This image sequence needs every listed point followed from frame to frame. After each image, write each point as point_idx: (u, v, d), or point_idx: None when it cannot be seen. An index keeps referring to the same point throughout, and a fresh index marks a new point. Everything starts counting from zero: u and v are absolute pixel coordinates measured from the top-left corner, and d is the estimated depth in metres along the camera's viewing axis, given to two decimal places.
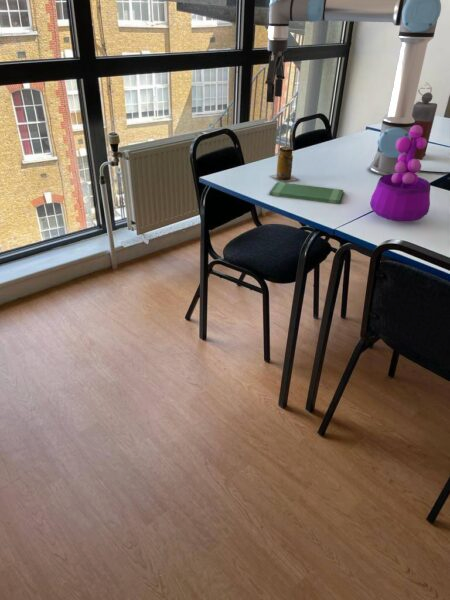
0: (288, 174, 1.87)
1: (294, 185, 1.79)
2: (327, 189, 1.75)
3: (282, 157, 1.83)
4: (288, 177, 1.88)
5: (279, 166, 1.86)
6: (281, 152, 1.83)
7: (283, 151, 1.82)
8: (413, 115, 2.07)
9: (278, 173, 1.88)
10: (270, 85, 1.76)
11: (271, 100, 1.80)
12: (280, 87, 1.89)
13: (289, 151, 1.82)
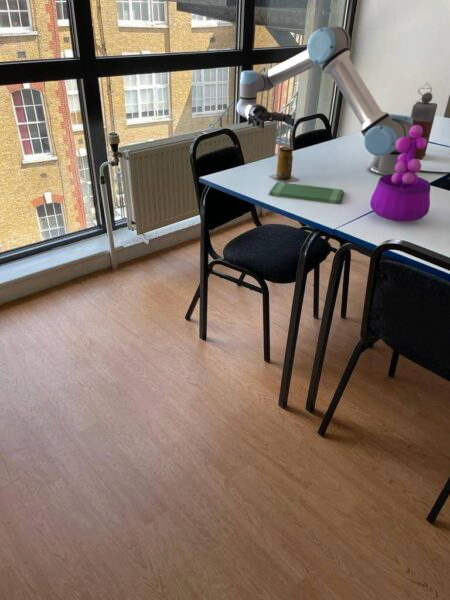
0: (288, 174, 1.87)
1: (294, 185, 1.79)
2: (327, 189, 1.75)
3: (282, 157, 1.83)
4: (288, 177, 1.88)
5: (279, 166, 1.86)
6: (281, 152, 1.83)
7: (283, 151, 1.82)
8: (413, 115, 2.07)
9: (278, 173, 1.88)
10: (253, 121, 1.88)
11: (261, 123, 1.83)
12: (288, 118, 1.90)
13: (289, 151, 1.82)
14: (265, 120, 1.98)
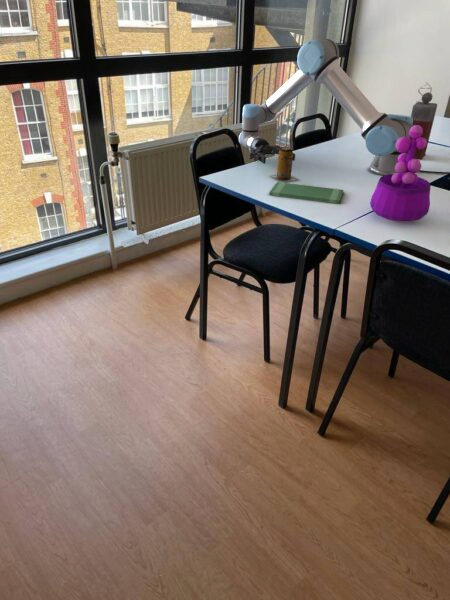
0: (288, 174, 1.87)
1: (294, 185, 1.79)
2: (327, 189, 1.75)
3: (282, 157, 1.83)
4: (288, 177, 1.88)
5: (279, 166, 1.86)
6: (281, 152, 1.83)
7: (283, 151, 1.82)
8: (413, 115, 2.07)
9: (278, 173, 1.88)
10: (255, 156, 1.92)
11: (263, 158, 1.88)
12: None
13: (289, 151, 1.82)
14: None
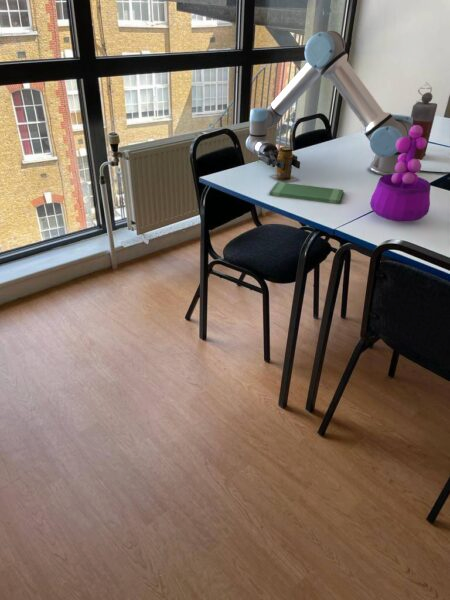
0: (288, 174, 1.87)
1: (294, 185, 1.79)
2: (327, 189, 1.75)
3: (282, 158, 1.83)
4: (288, 177, 1.88)
5: None
6: (281, 152, 1.83)
7: (283, 151, 1.82)
8: (413, 115, 2.07)
9: (278, 173, 1.88)
10: (273, 162, 1.85)
11: (282, 164, 1.81)
12: (294, 160, 1.85)
13: (289, 151, 1.82)
14: None
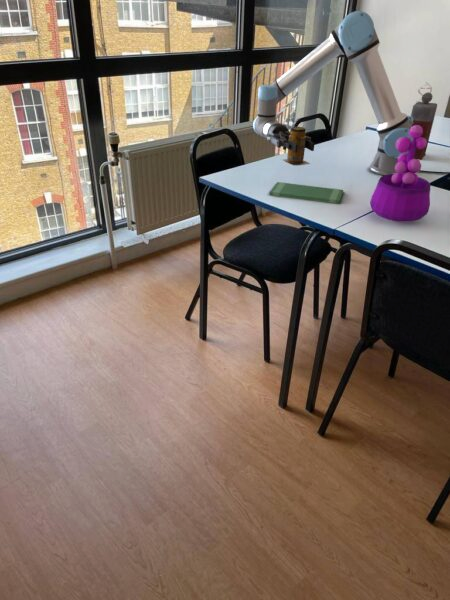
0: (300, 157, 1.67)
1: (294, 185, 1.79)
2: (327, 189, 1.75)
3: (294, 138, 1.63)
4: (300, 161, 1.68)
5: None
6: (293, 132, 1.63)
7: (295, 131, 1.62)
8: (413, 115, 2.07)
9: (289, 156, 1.68)
10: (284, 144, 1.65)
11: (294, 146, 1.61)
12: (307, 142, 1.65)
13: (302, 131, 1.62)
14: None
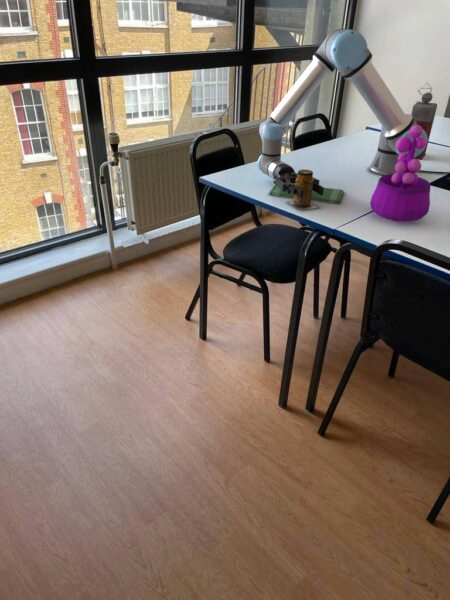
0: (307, 201, 1.62)
1: None
2: (327, 189, 1.75)
3: (301, 182, 1.58)
4: (307, 204, 1.63)
5: None
6: (300, 176, 1.58)
7: (302, 175, 1.57)
8: (413, 115, 2.07)
9: (296, 199, 1.63)
10: (289, 188, 1.60)
11: (300, 191, 1.56)
12: (316, 185, 1.61)
13: (309, 175, 1.57)
14: (292, 182, 1.71)
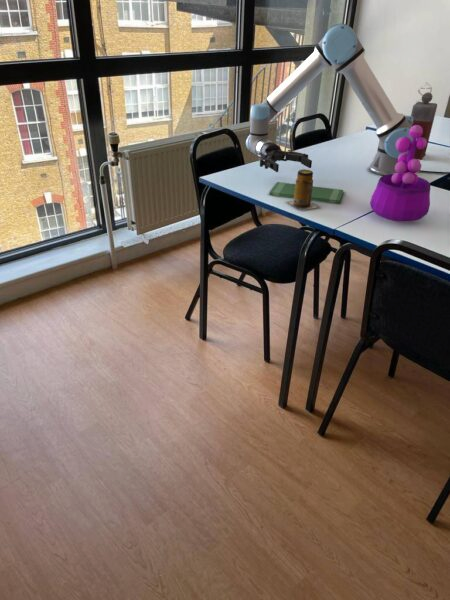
0: (307, 201, 1.62)
1: (294, 185, 1.79)
2: (327, 189, 1.75)
3: (301, 182, 1.58)
4: (307, 204, 1.63)
5: (297, 192, 1.61)
6: (300, 176, 1.58)
7: (302, 175, 1.57)
8: (413, 115, 2.07)
9: (296, 199, 1.63)
10: (266, 163, 1.69)
11: (275, 166, 1.65)
12: (305, 159, 1.71)
13: (309, 175, 1.57)
14: (278, 159, 1.79)
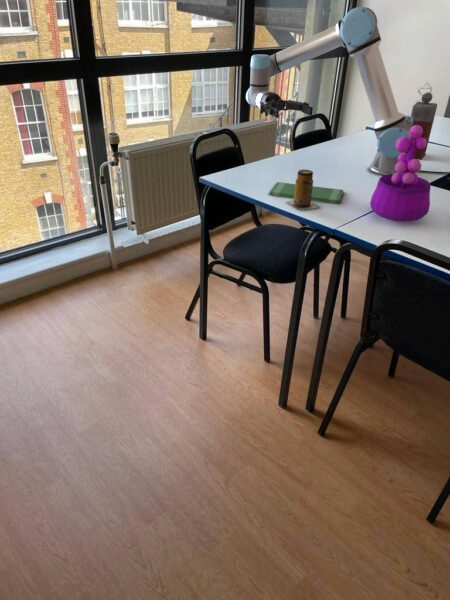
0: (307, 201, 1.62)
1: (294, 185, 1.79)
2: (327, 189, 1.75)
3: (301, 182, 1.58)
4: (307, 204, 1.63)
5: (297, 192, 1.61)
6: (300, 176, 1.58)
7: (302, 175, 1.57)
8: (413, 115, 2.07)
9: (296, 199, 1.63)
10: (266, 110, 1.66)
11: (276, 111, 1.62)
12: (305, 107, 1.68)
13: (309, 175, 1.57)
14: (279, 109, 1.76)
